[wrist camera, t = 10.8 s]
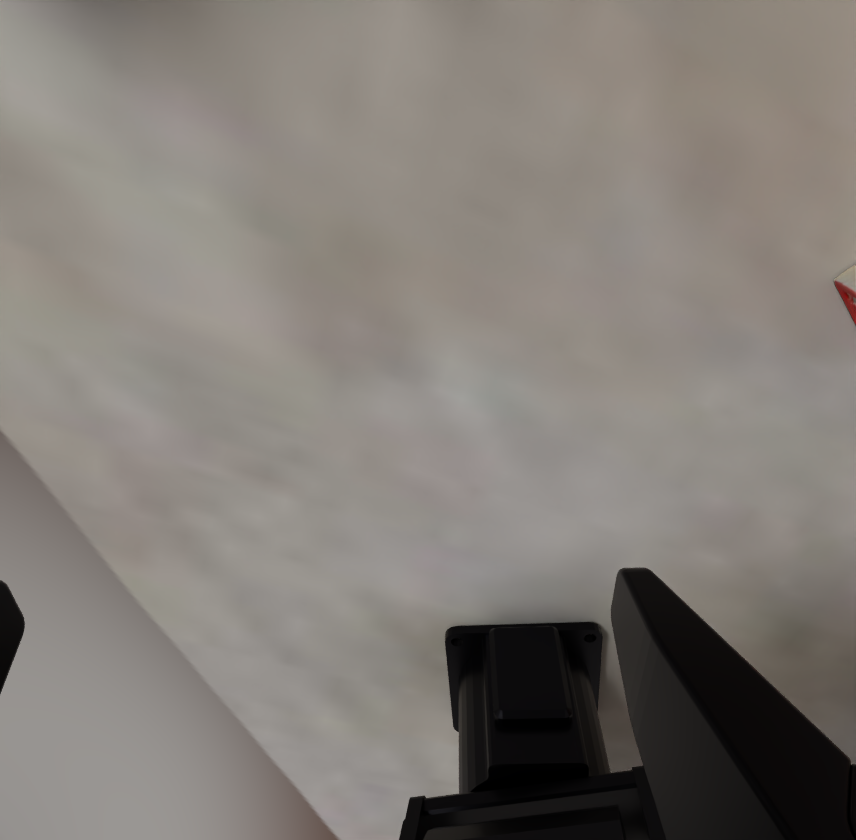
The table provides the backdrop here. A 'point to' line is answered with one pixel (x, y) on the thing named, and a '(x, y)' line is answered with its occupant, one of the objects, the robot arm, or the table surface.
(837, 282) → the stack of blocks
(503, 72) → the table surface
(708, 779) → the robot arm
